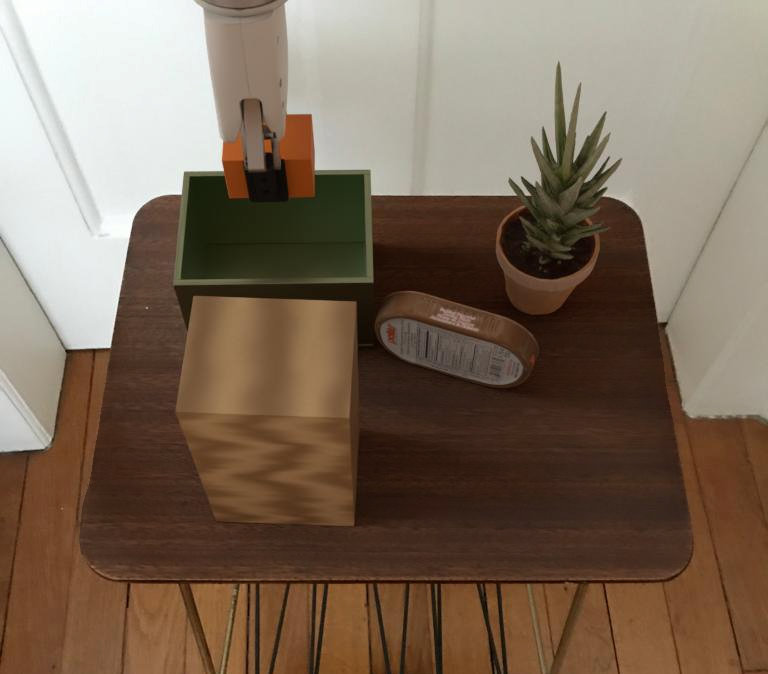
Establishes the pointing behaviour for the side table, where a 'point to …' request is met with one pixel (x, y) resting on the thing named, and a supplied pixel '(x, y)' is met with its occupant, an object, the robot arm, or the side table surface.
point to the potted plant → (555, 218)
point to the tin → (456, 339)
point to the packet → (292, 149)
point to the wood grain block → (273, 408)
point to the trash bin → (278, 244)
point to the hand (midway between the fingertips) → (270, 171)
